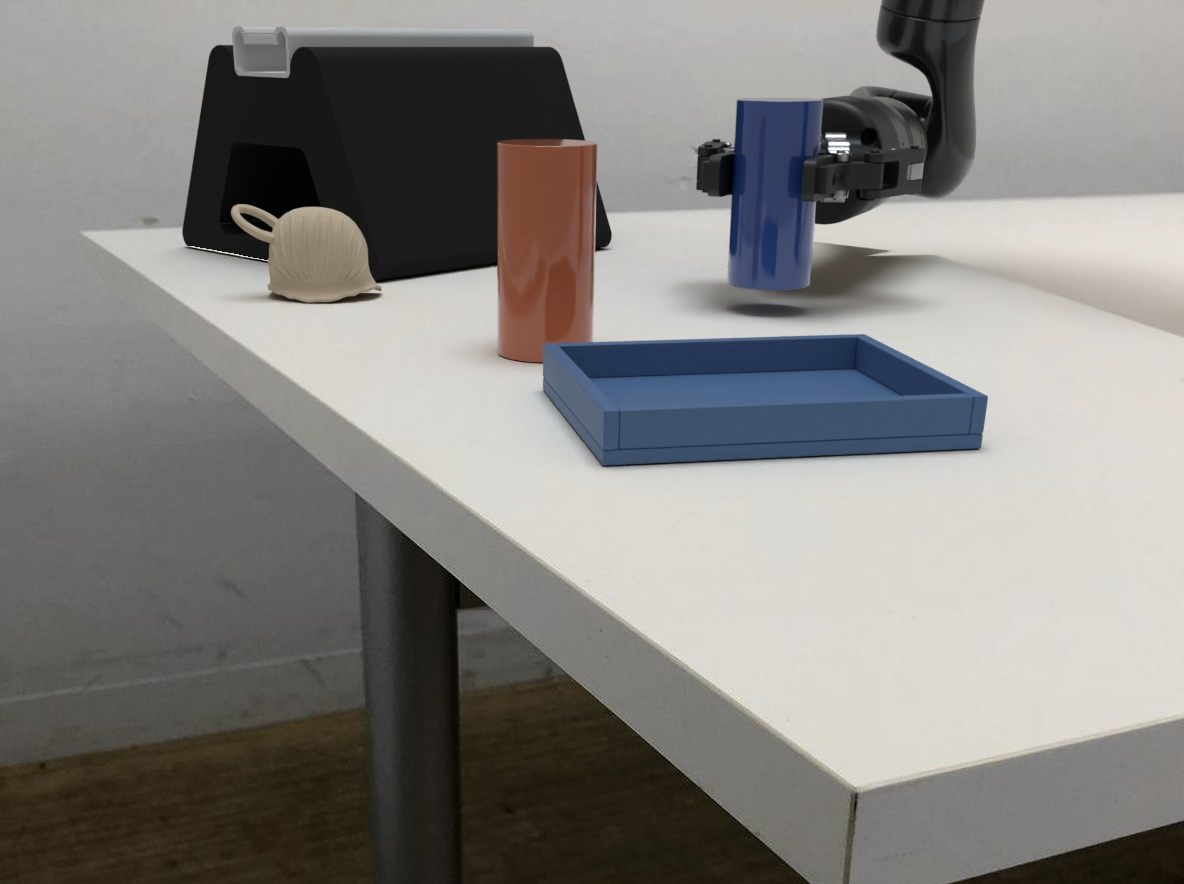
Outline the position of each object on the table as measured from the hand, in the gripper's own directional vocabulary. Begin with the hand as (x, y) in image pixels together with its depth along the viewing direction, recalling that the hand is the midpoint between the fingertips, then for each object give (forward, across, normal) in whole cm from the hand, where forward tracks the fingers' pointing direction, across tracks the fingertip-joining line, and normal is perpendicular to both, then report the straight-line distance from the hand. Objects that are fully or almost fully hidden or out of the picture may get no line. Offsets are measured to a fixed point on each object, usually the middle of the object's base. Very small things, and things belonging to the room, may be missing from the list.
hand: (761, 178), depth 76 cm
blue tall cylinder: (-3, 0, +6) cm, 7 cm away
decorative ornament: (+7, -26, +8) cm, 28 cm away
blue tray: (+22, +7, +8) cm, 24 cm away
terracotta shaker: (+14, -6, +8) cm, 17 cm away
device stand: (-14, -32, +8) cm, 36 cm away
